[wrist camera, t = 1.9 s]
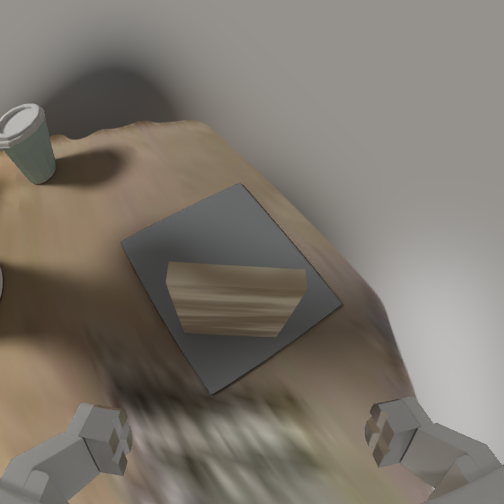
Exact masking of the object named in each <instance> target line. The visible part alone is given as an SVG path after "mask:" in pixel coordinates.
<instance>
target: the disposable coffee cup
mask: <svg viewBox="0 0 504 504" xmlns="http://www.w3.org/2000/svg"><path fill="white" fill-rule="evenodd" d="M44 114H45V112H44V111H43V109H42V108H41V107H40V106H38V105H35V104H24V105H21V106H18V107H15V108H13V109H12V110H10V111H9V112H7V113H6V114H4V115H3V116H2V117H1V119H0V148H2V149H3V150H4V151H5V153H6V154H7V155H8V156H9V157H10V159H11V160H12V161H13V162H14V163H15V164H16V166H17V167H18V168H19V169H20V170H21V171H22V173H23V174H24V175H25V176H26V177H27V178H28V179H29V181H30V182H32V183H33V184H41V183H43V182H46V181H47V180H48V179H49V178H50V177H52V175H53V173H54V172H55V167H56V161H55V157H54V153H53V150H52V146H51V142H50V138H49V133H48V129H47V125H46V120H45V116H44Z"/></svg>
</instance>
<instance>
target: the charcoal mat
mask: <svg viewBox="0 0 504 504" xmlns="http://www.w3.org/2000/svg"><path fill="white" fill-rule="evenodd" d="M121 244H122V246H123V248H124V250H125V252H126V254H127V256H128V258H129V260H130V262H131V263H132V265H133V267H134V269H135V271H136V273H137V275H138V277H139V278H140V280H141V282H142V284H143V286H144V288H145V289H146V291H147V293H148V295H149V297H150V298H151V300H152V302H153V304H154V305H155V307H156V309H157V310H158V312H159V314H160V316H161V317H162V319H163V321H164V322H165V324H166V326H167V327H168V329H169V331H170V332H171V334H172V336H173V337H174V339H175V341H176V342H177V344H178V345H179V347H180V349H181V350H182V352H183V353H184V355H185V356H186V358H187V360H188V361H189V363H190V364H191V366H192V367H193V369H194V370H195V372H196V373H197V375H198V376H199V378H200V379H201V381H202V382H203V384H204V385H205V387H206V388H207V390H208V391H209V393H210V394H211V395H212V394H214V393H216V392H217V391H219V390H221V389H222V388H224V387H225V386H227V385H228V384H230V383H232V382H233V381H235V380H236V379H238V378H239V377H241V376H242V375H244V374H245V373H247V372H249V371H250V370H252V369H253V368H255V367H256V366H258V365H259V364H261V363H262V362H263V361H265V360H266V359H268V358H269V357H271V356H272V355H274V354H275V353H277V352H278V351H279V350H281V349H282V348H284V347H285V346H287V345H288V344H289V343H291V342H292V341H294V340H295V339H296V338H298V337H299V336H301V335H302V334H303V333H305V332H306V331H307V330H309V329H310V328H311V327H313V326H314V325H316V324H317V323H318V322H320V321H321V320H322V319H324V318H325V317H326V316H327V315H329V314H330V313H331V312H333V311H334V310H335V309H337V308H338V307H339V306H340V305H342V303H341V302H340V301H339V299H338V298H337V297H336V296H335V294H334V293H333V292H332V291H331V290H330V288H329V287H328V286H327V285H326V283H325V282H324V281H323V280H322V279H321V277H320V276H319V275H318V274H317V272H316V271H315V270H314V269H313V268H312V266H311V265H310V264H309V263H308V262H307V260H306V259H305V258H304V257H303V256H302V254H301V253H300V252H299V251H298V250H297V248H296V247H295V246H294V245H293V244H292V243H291V241H290V240H289V239H288V238H287V237H286V235H285V234H284V233H283V232H282V231H281V230H280V228H279V227H278V226H277V225H276V224H275V223H274V221H273V220H272V219H271V218H270V217H269V216H268V214H267V213H266V212H265V211H264V210H263V209H262V207H261V206H260V205H259V204H258V203H257V202H256V200H255V199H254V198H253V197H252V196H251V195H250V194H249V192H248V191H247V190H246V189H245V188H244V187H243V186H242V184H241V183H238V184H235V185H233V186H231V187H229V188H227V189H225V190H223V191H220V192H218V193H216V194H214V195H212V196H210V197H208V198H206V199H204V200H201V201H199V202H197V203H195V204H193V205H191V206H189V207H187V208H185V209H183V210H181V211H179V212H177V213H175V214H173V215H171V216H169V217H167V218H165V219H163V220H161V221H159V222H157V223H155V224H153V225H151V226H149V227H147V228H145V229H144V230H142V231H140V232H138V233H136V234H134V235H132V236H130V237H128V238H126V239H125V240H123V241H121ZM169 262H190V263H207V264H224V265H241V266H259V267H278V268H297V269H305V270H306V285H307V291H306V292H305V294H304V295H303V297H302V299H301V300H300V302H299V303H298V305H297V306H296V308H295V309H294V311H293V313H292V314H291V316H290V317H289V319H288V320H287V322H286V323H285V325H284V326H283V328H282V329H281V331H280V332H279V334H278V335H277V337H253V336H230V335H212V334H196V333H184V330H183V328H182V325H181V322H180V320H179V317H178V315H177V312H176V309H175V307H174V304H173V301H172V299H171V296H170V293H169V290H168V288H167V285H166V277H167V270H168V263H169Z"/></svg>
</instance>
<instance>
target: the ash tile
mask: <svg viewBox="0 0 504 504" xmlns="http://www.w3.org/2000/svg"><path fill="white" fill-rule="evenodd" d="M166 285H167V288H168V290H169V293H170V296H171V299H172V301H173V304H174V307H175V309H176V312H177V315H178V317H179V320H180V322H181V325H182V328H183V330H184V333H196V334H212V335H230V336H253V337H277V335H278V334H279V332H280V331H281V329H282V328H283V326H284V325H285V323H286V322H287V320H288V319H289V317H290V316H291V314H292V313H293V311H294V309H295V308H296V306H297V305H298V303H299V302H300V300H301V299H302V297H303V295H304V294H305V292H306V291H307V285H306V270H305V269H297V268H278V267H259V266H241V265H224V264H207V263H190V262H169V263H168V270H167V277H166Z"/></svg>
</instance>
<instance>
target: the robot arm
mask: <svg viewBox="0 0 504 504" xmlns="http://www.w3.org/2000/svg"><path fill="white" fill-rule="evenodd" d="M2 285H3V278H2V271H1V268H0V297H1V293H2ZM370 413H371V415H372V417H371V418H370V419H369V420H367V422H366V426H365V438H366V441H367V444H368V445H369V446H370V447H372V448H374V451H373V454H372V455H373V457H374V459H375V461H376V463H377V465H378V468H379V467H383V466H388V465H392V464H396V463H400V464H401V465H402V466H404V467H405V468H407V469H408V470H409V471H411V472H412V473H414V474H415V475H417V476H418V477H419V478H421V479H422V480H424V481H425V482H427V483H428V484H430V485H431V486H433V487H434V488H435V490H434V491H433V492H432V493H431V495H430V496H429V497H428V499H427V501H426V502H424V503H421V504H504V465H501V463H500V462H499V461H498V459H497V458H496V457H495V456H494V454H493V453H492V451H491V450H490V449H489V447H488V446H487V445H486V444H484V443H481V442H479V441H476V440H474V439H472V438H470V437H467V436H465V435H463V434H460V433H458V432H456V431H454V430H451V429H449V428H447V427H445V426H442V425H440V424H438V423H435V424H433V423H432V421H431V419H430V418H429V417H428V415H427V414H426V412H425V411H424V410H423V408H422V407H421V406H420V404H419V403H418V401H417V400H416V399H415V398H414V397H413V396H410V397H405V398H401V399H396V400H391V401H386V402H381V403H375V404H374V405H373V406H372V407H371V410H370ZM126 420H127V414H126V411H125V410H124V409H119V408H113V407H107V406H101V405H94V404H89V403H84V402H83V403H81V404H80V405H79V407H78V409H77V411H76V412H75V414H74V416H73V418H72V420H71V422H70V424H69V426H68V428H67V429H66V431H65V433H59V434H58V435H56V436H54V437H52V438H50V439H49V440H47V441H45V442H43V443H41V444H39V445H38V446H36V447H34V448H32V449H30V450H28V451H26V452H24V453H23V454H21V455H19V456H17V457H15V458H13V459H11V461H10V463H9V465H8V466H7V468H6V470H5V472H4V473H3V475H2V477H1V479H0V504H69V503H68V502H67V501H68V500H69V499H70V498H72V497H73V496H74V495H75V494H76V493H78V492H79V491H80V490H81V489H82V488H83V487H85V486H86V485H87V484H88V483H89V482H90V481H92V480H93V479H94V478H95V477H96V476H97V475H99V474H100V472H102V473H108V474H114V475H121V476H124V472H125V468H126V465H127V459H126V456H125V455H126V454H128V453H129V452H130V451H131V447H132V431H131V427H130V426H129V425H128V424H127V423H126Z"/></svg>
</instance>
